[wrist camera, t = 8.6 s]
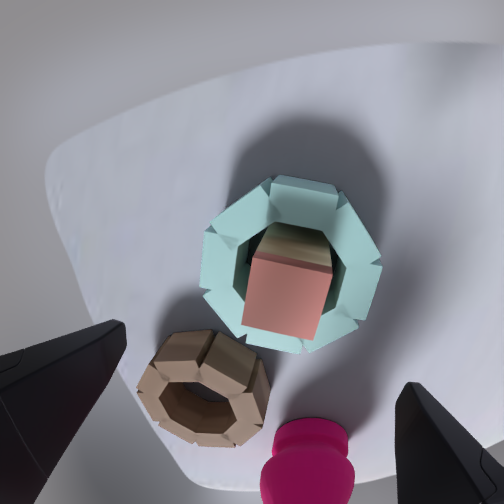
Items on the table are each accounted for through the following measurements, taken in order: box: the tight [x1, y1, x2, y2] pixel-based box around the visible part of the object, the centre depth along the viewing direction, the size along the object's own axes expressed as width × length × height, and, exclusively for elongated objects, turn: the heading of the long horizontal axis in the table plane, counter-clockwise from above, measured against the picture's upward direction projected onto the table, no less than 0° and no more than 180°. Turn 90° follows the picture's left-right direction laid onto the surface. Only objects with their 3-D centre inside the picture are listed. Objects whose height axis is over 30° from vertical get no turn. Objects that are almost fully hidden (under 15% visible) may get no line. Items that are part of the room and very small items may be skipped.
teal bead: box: [199, 175, 383, 354], centre depth 17 cm, size 9×9×4 cm
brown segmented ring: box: [136, 329, 271, 448], centre depth 22 cm, size 9×9×4 cm
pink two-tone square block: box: [241, 221, 333, 341], centre depth 16 cm, size 3×3×6 cm
